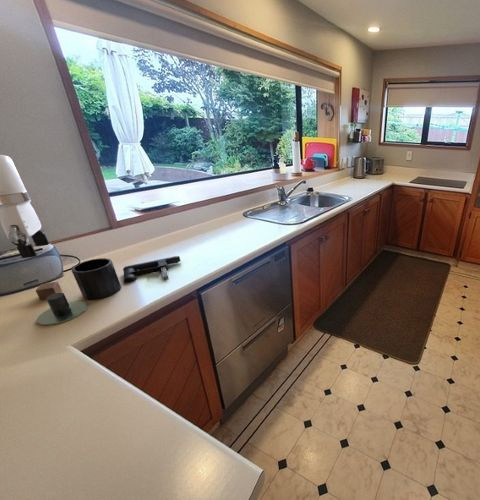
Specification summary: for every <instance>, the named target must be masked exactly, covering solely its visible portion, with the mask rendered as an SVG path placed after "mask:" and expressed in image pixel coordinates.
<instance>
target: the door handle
mask: <svg viewBox="0 0 480 500" xmlns="http://www.w3.org/2000/svg"><path fill="white" fill-rule="evenodd" d="M179 262H181V257H180V255H175V256H170V257H163V258H159V259H154V260H150V261H144V262H140V263H135V264H130V265H125V266H124V267H123V269H122V271H123V282H124V283H126V284H129V283H133V282H135V281H136V280H137V277H140V276H145V275H150V274H155V273H159V272H160V273H161V274H162V278H163V281H166V280H169V275H168V271H169V268H168V266H169V265H173V264H178V263H179Z"/></svg>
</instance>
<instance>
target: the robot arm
mask: <svg viewBox="0 0 480 500" xmlns="http://www.w3.org/2000/svg"><path fill="white" fill-rule="evenodd" d="M31 202H32V199H31V197H30V195H29V193H28V191H27V189H26V187H25V185H24V183H23V180H22V178H21V176H20V174H19V172H18V170H17V168H16V165H15V164H14V161H13V159H12V158H11V157H10V156H8V155H6V154H0V225H1V227H2V229H3V231H4V234H5V236H6V238H7V239H8V240H10V242H11V243H12V244H13V245H14V247H15V248H16V249H17V251H18V253H19V255H20V257H21V258H22V259H28V258H36V257H37V255H38V254H37V252H36V250H35V248H34V246H33V244H32V243H30V237H31V238H32V240H33V243H34V245H35V246H36V247H41V246H42V247H44V246H48V245H50V242H49V240H48V237H47V235H46V233H45V230H44V229H43V225H42V223H41V220H40V219H41V218H39V216H38V215H37V212H36V211H35V209H34V207H33V205H32V204H31Z"/></svg>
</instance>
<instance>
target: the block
mask: <svg viewBox="0 0 480 500" xmlns="http://www.w3.org/2000/svg"><path fill="white" fill-rule="evenodd" d="M62 291H63V290H62V288H61V286H60V284H59V281H52V282H46V283H41V284H40V285H38V287H37V288H36V289H35V293H36V295H37V297H38V299H39V300H40V301H45V300H46V298H47V297H48V296H50V295H52V294H55V293H63V292H62Z"/></svg>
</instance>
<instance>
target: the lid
mask: <svg viewBox="0 0 480 500" xmlns="http://www.w3.org/2000/svg"><path fill="white" fill-rule="evenodd" d="M45 300H46V302H47V304H48V306H49V309H46V310H45V311H42V313H40V314H39V315H38V316H37V318H36V323H37V324H38V325H40V326H46V327H48V326H56V325H59V324H64V323H67V322H69V321H72V320H74V319H76V318H78V317H80V316H81V315H82V314H84V313H85V312H86V311H87V310H88V308H89V306H88V303H86V302H85V301H70V302H69V301H68V299H67V297H66V295H65V293H64V292H61V293H55V294H52V295H50V296H48V297H47V298H46V299H45Z"/></svg>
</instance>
